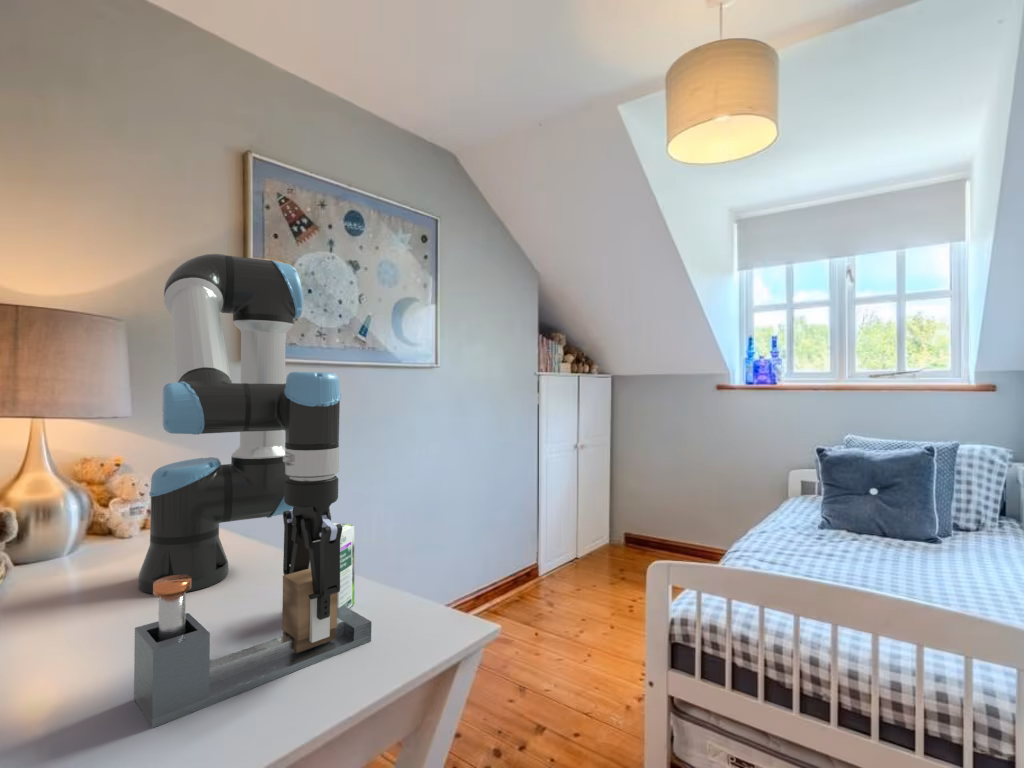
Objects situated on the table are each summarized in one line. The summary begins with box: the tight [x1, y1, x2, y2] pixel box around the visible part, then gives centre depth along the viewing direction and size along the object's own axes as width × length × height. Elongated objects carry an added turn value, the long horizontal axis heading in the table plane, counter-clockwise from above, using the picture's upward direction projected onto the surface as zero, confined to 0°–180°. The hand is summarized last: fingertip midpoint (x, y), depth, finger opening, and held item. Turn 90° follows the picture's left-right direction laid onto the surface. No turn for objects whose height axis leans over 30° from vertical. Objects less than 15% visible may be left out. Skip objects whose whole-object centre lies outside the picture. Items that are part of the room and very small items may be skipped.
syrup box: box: [309, 522, 355, 609], centre depth 94 cm, size 6×6×14 cm
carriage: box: [281, 568, 337, 653], centre depth 80 cm, size 5×6×10 cm
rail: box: [133, 606, 372, 729], centre depth 75 cm, size 8×29×9 cm, turn 137°
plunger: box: [152, 575, 191, 642], centre depth 67 cm, size 4×4×10 cm
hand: (309, 631), depth 80 cm, fingers open, 5 cm apart
